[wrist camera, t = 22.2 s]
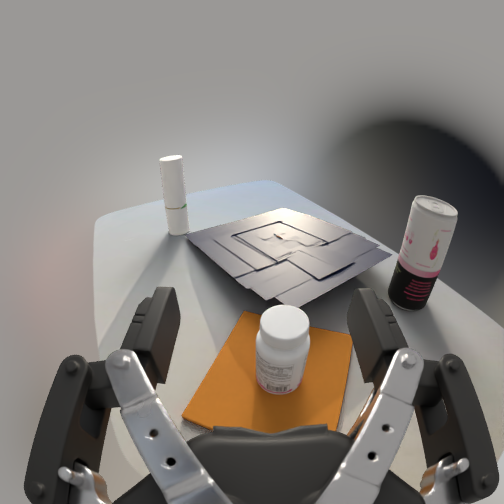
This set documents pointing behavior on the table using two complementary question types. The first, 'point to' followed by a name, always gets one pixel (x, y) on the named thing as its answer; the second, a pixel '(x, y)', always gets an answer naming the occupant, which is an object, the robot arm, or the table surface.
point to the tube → (174, 194)
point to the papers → (288, 254)
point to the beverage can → (422, 252)
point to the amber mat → (262, 402)
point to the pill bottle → (282, 349)
